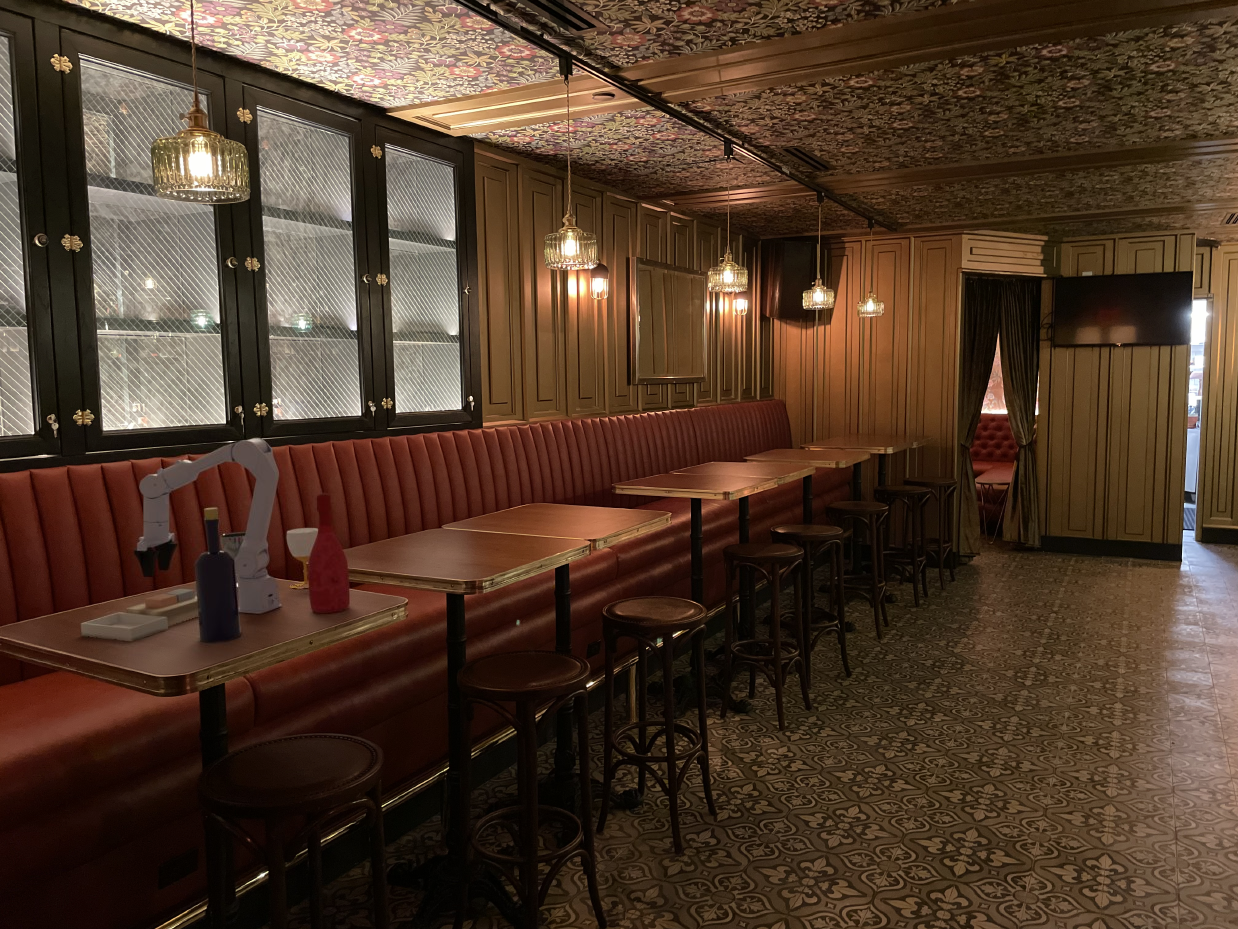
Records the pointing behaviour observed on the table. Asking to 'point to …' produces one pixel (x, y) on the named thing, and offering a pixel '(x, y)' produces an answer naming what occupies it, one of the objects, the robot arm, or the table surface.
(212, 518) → the bottle
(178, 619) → the board
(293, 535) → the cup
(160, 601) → the terracotta tile
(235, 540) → the wine glass
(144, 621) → the box
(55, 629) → the table surface
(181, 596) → the slate tile
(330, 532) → the wine bottle
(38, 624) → the table surface
